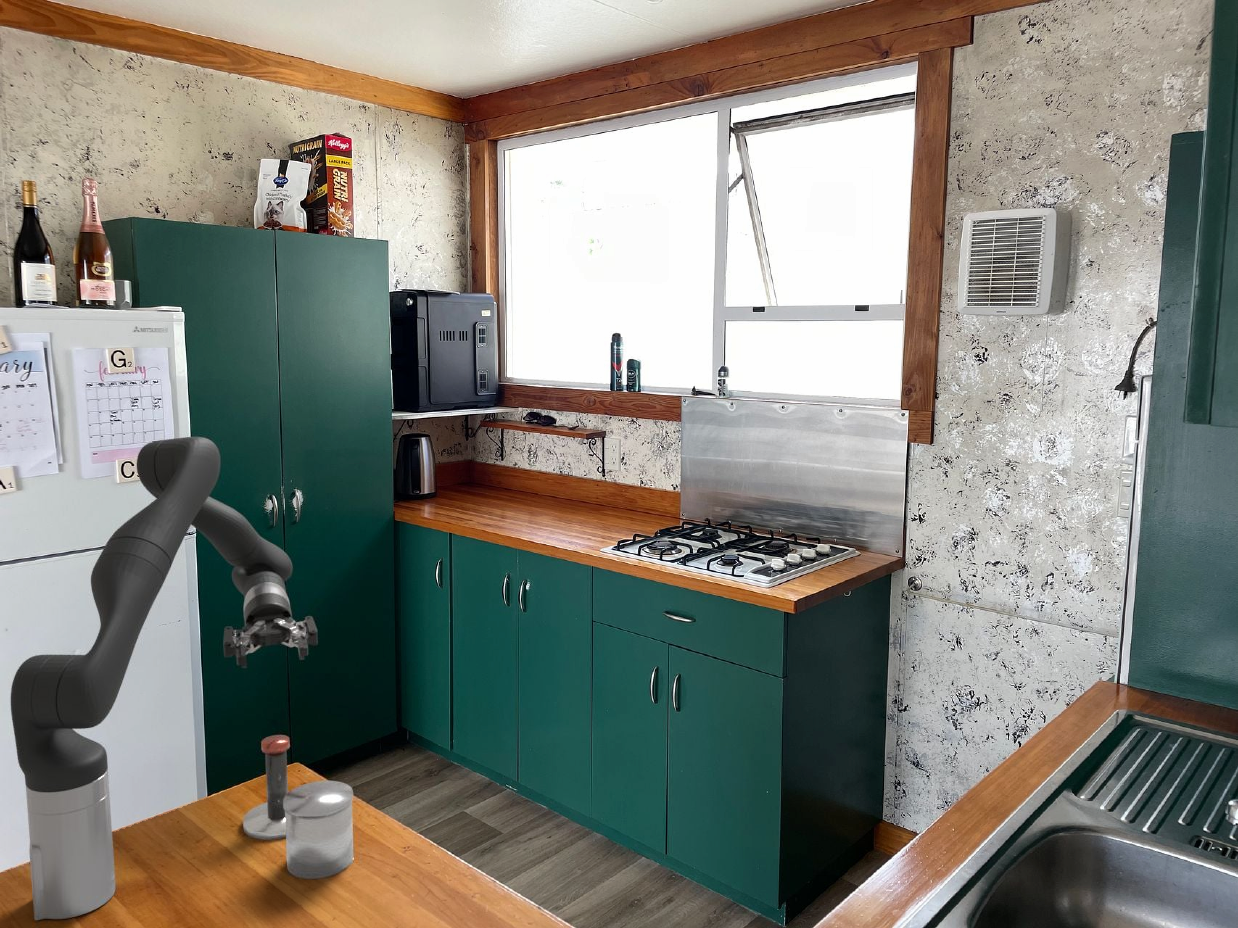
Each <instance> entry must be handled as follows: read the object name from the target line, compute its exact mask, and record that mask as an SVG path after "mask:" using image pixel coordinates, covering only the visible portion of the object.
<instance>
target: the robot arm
mask: <svg viewBox="0 0 1238 928" xmlns="http://www.w3.org/2000/svg"><path fill="white" fill-rule="evenodd" d="M136 457H137V458H136V471H137V476H138V478H139V480H140V483H141V484H142V485H143V487H144V488H145V489H146V490H147V492H148V493H149V494H151V495H152V497H154V498H155V499H153V501H152V502H151V503H149V504H148V505H147V506H145V507H144V508H142V509H141V510H140V511H139V512H137V513H136V514H134V515H133V516H132V517H131V518H129V519H128V520H127V521H125V522H123V524H122V525H121V526H119V527H118V528H117V529H116V531H114V532H113V534H112V535H111V536H110V537H109V539H108V540H107V542H106V544H105V545H104V548H103V549H102V551H101V553H100V555H99V557H98V558H97V560H96V562H95V565H94V566H93V568H92V571H91V575H90V587H91V592H92V597H93V600H94V603H95V606H96V608H97V612H98V615H99V622H100V627H99V631H98V633H97V636H96V639H95V641H94V643H93V645H92V647H91V648H90V650H89V651H88V652H87V653H86V654H39V655H34V656H31V657H29V658H27V659H26V660H25V661H23V662H22V664H21V665H20V666H19V667H18V669H17V670H16V672H15V674H14V676H13V681H12V684H11V688H10V712H11V713H10V715H11V720H12V726H13V727H12V728H13V735H14V741H15V748H16V754H17V761H18V762H17V763H18V765H19V767H20V770H21V771H22V773H23V774H24V783H25V792H26V793H25V794H26V795H25V796H26V806H27V808H26V809H27V821H28V832H29V835H28V837H29V865H30V875H31V876H30V877H31V888H32V889H31V890H32V891H31V892H32V903H33V914H34V915H33V916H34V921H40V920H45V919H48V920H50V919H51V920H63V919H70V918H75V917H79V916H81V915H84V914H88V913H90V912H92V911H94V910H97V909H98V908H100V907H101V906H103V905H105V904H106V903H107V902H108V901H110V899H112V897H113V896H114V894H115V892H116V871H115V860H114V859H115V857H114V856H115V855H114V844H113V828H112V826H113V825H112V814H111V813H112V812H111V800H110V799H111V798H110V795H111V794H110V782H109V781H110V779H109V764H108V754H107V753H108V752H107V749H106V748H105V747H104V746H103V745H102V744H101V743H99V742H97V741H95V740H92V739H90V738H88V737H86V736H83V735H82V734H80V733H78V732H77V731H76V730H82V729H84V730H85V729H90V728H94V727H97V726H98V725H100V724H102V722H103V721H104V720H105V719H106V718H107V717H108V716H109V714H110V712H111V710H112V709H113V708H114V707H113V706H114V704H115V703H116V701H117V697H118V696H119V692H120V689H121V687H122V685H123V681H124V679H125V675H126V672H127V670H128V667H129V664H130V661H131V658H132V655H133V653H134V649H135V646H136V644H137V641H138V639H139V636H140V633H141V631H142V629H143V627H144V624H145V622H146V620H147V618H148V616H149V614H150V611H151V609H152V607H153V605H154V603H155V601H156V598H157V596H158V595H159V593H160V591H161V590H162V588H163V585H164V583H165V581H166V578H167V577H168V574H169V572H170V570H171V567H172V566H173V565H172V564H173V563H174V560H175V558H176V556H177V553H178V551H179V549H180V547H181V545H182V543H183V542H184V539H185V537H186V535H187V533H188V531H189V530H190V528H191V526H192V527H193V528H195V529H196V530H197V531H199V532H200V533H201V534H202V535H203V536H204V537H205V538H206V539H207V540H208V541H209V543H211V544H212V546H213V547H214V548H215V550H217V552H218V553H219V554H220V556H222V557H223V559H224V560H225V561H226V562H227V563H228V564H230V565H231V566H234V568H233V569H232V571H231V578H232V579H231V580H232V582H233V584H234V586H235V587H236V589H237V590H238V591H239V593H241V594H242V596H243V598H244V599H243V600H244V601H243V620H244V626H243V627H242V629H234V628H233V626H232V625H231V626H230V625H229V626H225V627H224V629H223V630H224V631H223V641H222V643H223V646H222V647H223V656H224V658H231V657H233V656H235V658H236V665H237V666H241V668H242V669H243V668H244V669H245V668H246V669H247V668H248V665H247V664H248V663H247V655H248V654H252V653H254V652H256V651H257V650H258V649H260V648H261V647H262V648H263V647H267V646H271V645H272V646H274V645H276V646H277V645H284V646H286V647H289V648H293V647H296V648H297V651H298V657H299V660H300V661H301V660H305V657H308V655H309V645H310V646H317V645H318V644H319V641H318V628H317V625H316V623H315V620H314V617H313V616H311V615H308V616H305V618H304V620H303V621H296V620H295V619H293V614H292V609H291V604H290V599H289V597H288V594H287V590H286V589H287V588H286V585H285V582H286V581H287V580H289V579H290V578H291V576H292V574H293V568H294V567H293V563H292V560H291V558H290V557H289V555H288V554H287V553H286V552H285V551H284V550H283V549H282V548H280V547H279V546H277V545H276V544H274V543H272V542H270V541H268V540H266V539H265V538H264V537H262V536H261V535H259V533H258V532H257V530H255V528H254V527H253V526H252V524H251V523H250V522H249V521H248V519H247V518H246V517H245V516H244V515H243V514H241V512H239V511H237V510H236V509H234V508H233V507H231V506H229V505H227V504H225V503H224V502H221V501H219V500H217V499H215V498H214V497H211V496H210V495H211V493H212V491H213V490H214V488H215V486H216V484H217V481H218V479H219V475H220V471H221V453H220V450H219V448H218V447H217V445H216V444H215V442H213V441H212V440H210V439H208V438H206V437H202V436H185V437H176V438H169V439H168V438H167V439H160V440H155V441H151V442H148V443H147V444H144V445H143V446H142V448H141V449H140V450H139V452H138V455H137V456H136Z"/></svg>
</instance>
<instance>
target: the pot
mask: <svg viewBox="0 0 1238 928" xmlns="http://www.w3.org/2000/svg"><path fill="white" fill-rule="evenodd" d="M353 801H354V790H353V788H352V787H351V786H350V785H349V784H347V783H344V782H342V781H337V780H319V781H313V782H309V783H305V784H302V785H299V786H297V787H295V788H293V789H291V790H290V791H288V793H287V794H286V796H285V797H284V799H283V808H284V810H285V824H286V837H285V840H286V841H285V844H286V845H285V846H286V848H285V849H286V868H287V871H288V872H289V874H291V875H292V876H294V877H297V878H299V879H304V880H305V879H306V880H314V879H316V880H317V879H323V878H328V877H332V876H334V875H336V874H339V873H341V872H342V871H344V870H346V869H347V868H348V867H349V866H350V865H351V864H352V862H353V860H354V830H353V827H354V826H353V825H354V824H353Z"/></svg>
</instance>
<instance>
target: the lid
mask: <svg viewBox="0 0 1238 928" xmlns="http://www.w3.org/2000/svg"><path fill="white" fill-rule="evenodd" d="M260 743H261V747H260V748H261V751H262V753H264V754H265V756H264V757H265V758H264V759H265V777H266V778H265V780H266V782H265V783H266V802H264V803H261V804H258V805H256V806H255V807H253V808H251V809H250V810H248V812H246V813H245V815H244V816H243V821H242V825H243V828H242V829H243V831H244V833H245V834H246V835H247V836H249V837H250V838H252V839H258V840H267V841H268V840H278V839H283V838H286V824H285V810H284V808H283V799H284V797H285V796H286V794H287V793H289V788H288V785H289V784H288V760H287V759H288V758H287V757H288V755H287V750H289V749H290V747H291V745H290V743H291V742H290V737H289V736H287V735H284V734H275V735H274V734H273V735H270V736H267V737H265V738H263V739H262V740H261V742H260Z"/></svg>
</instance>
